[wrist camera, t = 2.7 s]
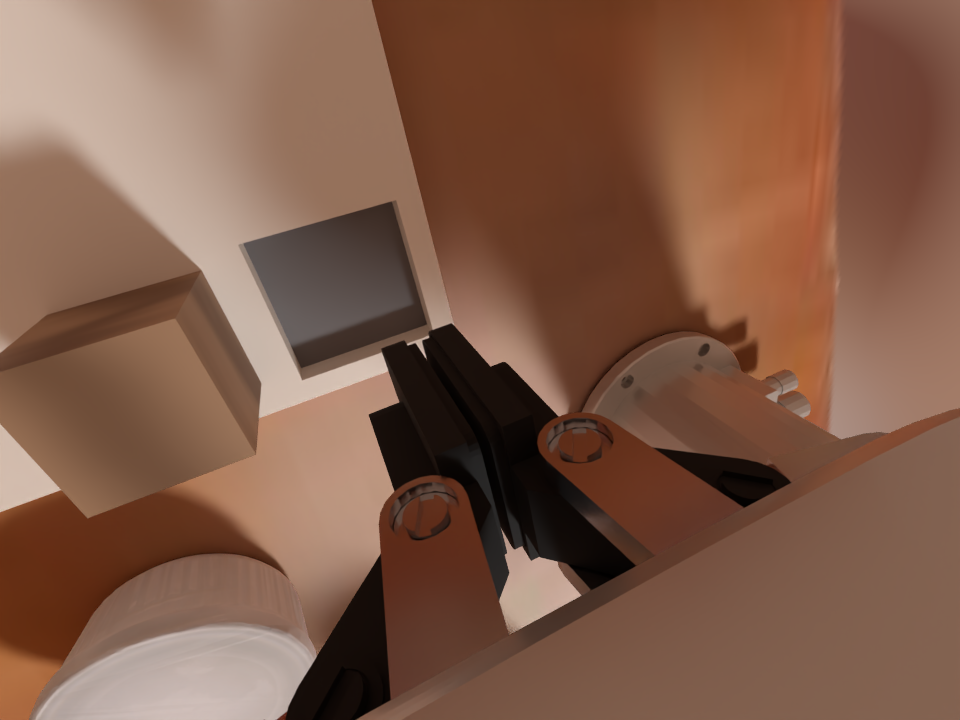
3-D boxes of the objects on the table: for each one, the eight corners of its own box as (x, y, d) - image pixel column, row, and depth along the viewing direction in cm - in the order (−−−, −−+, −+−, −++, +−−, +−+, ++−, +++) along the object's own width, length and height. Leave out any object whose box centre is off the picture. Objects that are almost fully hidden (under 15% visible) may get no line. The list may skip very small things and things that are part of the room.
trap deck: (336, -98, 15) (341, -117, 14) (449, 333, 23) (459, 345, 22) (-1072, 94, 9) (-1285, 89, 8) (-258, 584, 17) (-301, 620, 16)
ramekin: (106, 710, 26) (69, 832, 21) (36, 565, 21) (-29, 683, 17) (320, 647, 30) (327, 739, 25) (302, 512, 25) (307, 596, 20)
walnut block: (201, 270, 17) (175, 318, 13) (261, 383, 19) (256, 454, 15) (47, 314, 16) (-38, 383, 12) (131, 428, 18) (87, 518, 14)
